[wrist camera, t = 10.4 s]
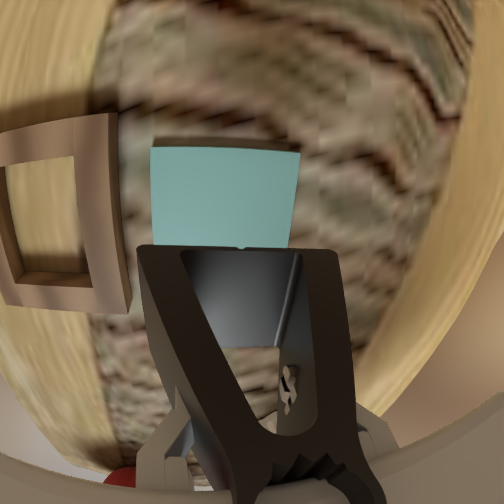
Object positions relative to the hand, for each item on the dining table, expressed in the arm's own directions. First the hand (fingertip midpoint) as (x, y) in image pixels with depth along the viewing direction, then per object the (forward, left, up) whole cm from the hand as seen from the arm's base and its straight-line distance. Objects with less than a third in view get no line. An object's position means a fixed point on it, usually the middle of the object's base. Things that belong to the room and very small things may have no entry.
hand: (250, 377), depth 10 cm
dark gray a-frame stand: (0, 0, -5) cm, 5 cm away
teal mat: (0, 0, -17) cm, 17 cm away
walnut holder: (+17, 0, -17) cm, 24 cm away
